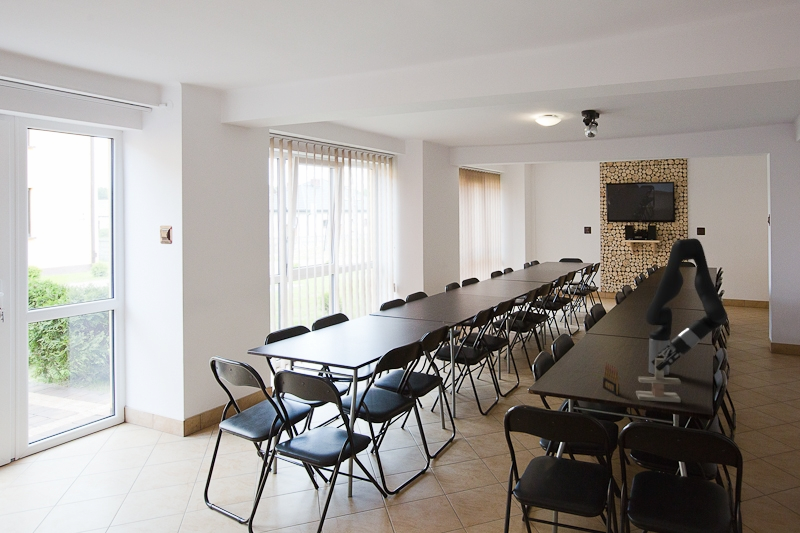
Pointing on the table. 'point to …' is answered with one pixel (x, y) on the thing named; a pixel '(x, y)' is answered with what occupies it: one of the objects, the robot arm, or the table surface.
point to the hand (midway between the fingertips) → (655, 366)
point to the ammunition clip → (611, 379)
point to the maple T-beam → (659, 376)
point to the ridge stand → (658, 394)
